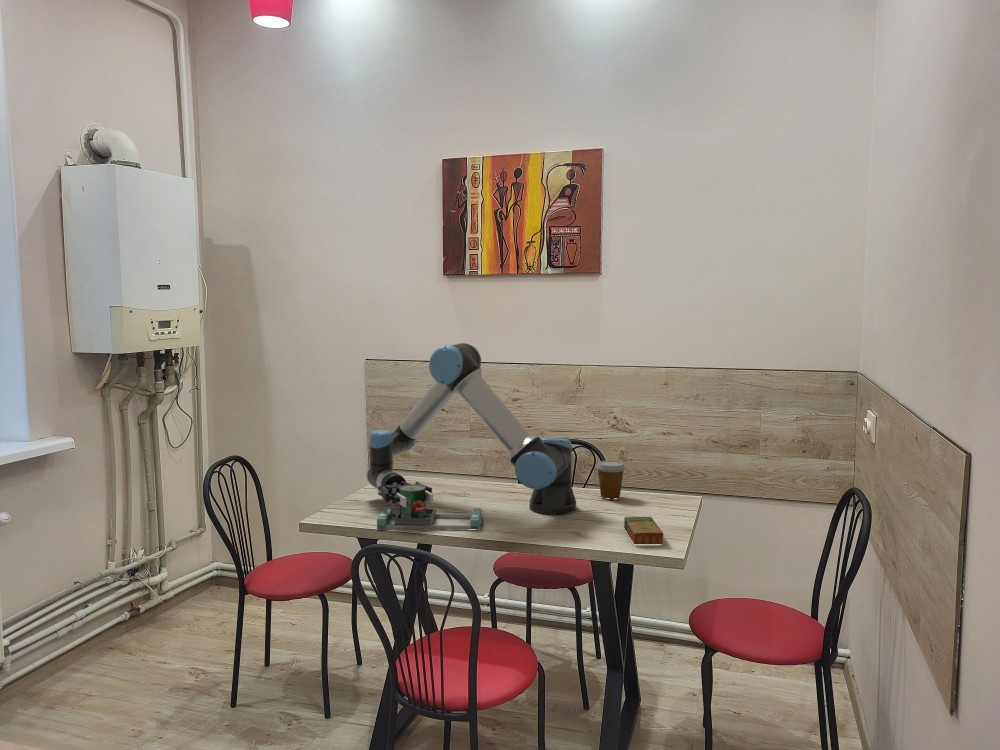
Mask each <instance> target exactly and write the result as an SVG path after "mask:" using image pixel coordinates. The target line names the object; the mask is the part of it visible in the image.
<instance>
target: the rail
mask: <svg viewBox="0 0 1000 750" xmlns="http://www.w3.org/2000/svg"><path fill="white" fill-rule="evenodd" d="M397 514H398V512H393V514H392V518H395V517H396V516H397ZM471 515H472V513H436V514H435V516H434V519H468V518H471ZM430 516H431V514H426V518H430ZM382 526H383V525H381V526H378V527H377V526H376V529H377V528H378V529H377V530H418V529H470V528H471V526H470V524H469V525H468V524H467V525H465V524H464V525H463V524H462V525H461V524H460V525H459V524H455V525H454V524H431V525H402V524H394V523H393V524H391V523H389V524H386V525H385V526H386V527H385V528H386V529H385V528H384V527H382ZM472 528H473V529H474V528H475V527H473V526H472ZM477 529H479V530H480V527H477Z"/></svg>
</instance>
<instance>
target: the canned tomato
mask: <svg viewBox="0 0 1000 750" xmlns="http://www.w3.org/2000/svg"><path fill="white" fill-rule="evenodd" d="M423 485H424V484H423ZM423 485H418V484H414V483H413V484H412V483H410V485H403V486H401V487H400V488H399V489H400V494H401V495H403V496H404V497H406V507H403V506H401V505H400V504H399V511H400V518H426V509H427V505H426V504H427V503H426V502H427V501H426V495H425V494H426V492H425V488H426V487H425V486H426V485H425V486H423Z"/></svg>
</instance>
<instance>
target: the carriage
mask: <svg viewBox="0 0 1000 750" xmlns="http://www.w3.org/2000/svg"><path fill="white" fill-rule="evenodd" d="M397 513H398V514H397V516H396V517H394V522H393V524H402V525H433V524H432V523H433V521H434V519H435V518H434V516H435V514H437V508H426V514H431V516H430V518H400V510H398V512H397Z"/></svg>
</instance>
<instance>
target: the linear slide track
mask: <svg viewBox="0 0 1000 750" xmlns="http://www.w3.org/2000/svg"><path fill="white" fill-rule="evenodd" d="M471 511H472V512H471V514H472V515H471V519H470V520H469V522H470V523H469V525H470V526H471V528H470V529H473V528H472V526H473V527H475V528H474V529H477V527H479V526H480V527H481V522H480V521H482V508H480V507H479V508H478V507H477V508H476V507H474V508H473V509H472V510H471ZM393 513H394V507H393V506H392V507H391V506H385V507H384V508H383V509H382V511H381V512H380V514H379V516H377V518H376V529H377V530H379V529H378V528H377V527H378V526H381V525H383V526H382V527H384V528H385V527H386V526H385V525H386V524H390V522H391V521H390V520H392V519H393V517H392V514H393ZM480 527H479V528H480ZM384 530H387V529H386V528H385V529H384Z"/></svg>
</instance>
